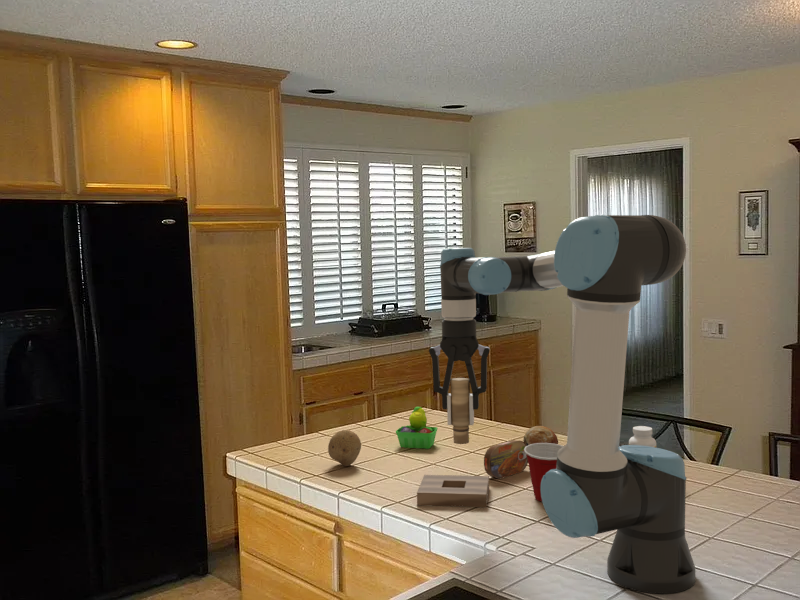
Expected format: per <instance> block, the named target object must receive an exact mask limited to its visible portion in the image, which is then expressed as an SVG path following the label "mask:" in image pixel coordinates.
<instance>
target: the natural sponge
mask: <svg viewBox="0 0 800 600" xmlns="http://www.w3.org/2000/svg"><path fill="white" fill-rule="evenodd" d="M328 442H329V443H328V446H327V451H328V455H329V457H330V458H331V459H332V460H334V461H335V462H338V463H339V464H340V465H341V466H343V467H348V466H351V465H352V464H353V463H354V462H355V461H356V460H357V458H358V456H359V455H360V452H361V449H362V441H361V438H360V437H359V435H358V434H357V433H355V431H352V430H350V429H349V430H348V429H343V430H340V431H338V432H336V433H335V434H334V435H332V436H331V438H330V439H329V441H328Z"/></svg>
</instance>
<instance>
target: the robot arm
mask: <svg viewBox="0 0 800 600" xmlns="http://www.w3.org/2000/svg"><path fill="white" fill-rule="evenodd" d="M686 253H687V244H686V240H685V237H684V234H683V233H682V231H681V230H680V229H679V227H678V226H677V225H676V224H675V223H673V222H672V221H670V220H669V219H667V218H665V217H663V216H659V215H654V214H640V215H638V214H637V215H636V214H635V215H633V214H632V215H628V214H627V215H626V214H625V215H624V214H623V215H622V214H621V215H620V214H619V215H617V214H616V215H615V214H612V215H610V214H607V215H606V214H595V215H589V216H581V217H578V218H576V219H574V220H573V221H570V223H569V224H568V225H567V227H565V228H564V229H563V230H562V232H561V234H560V236H559V237H558V239H557V242H556V245H555V247H554V250H552V251H547V252H542V253H537V254H532V255H520V256H515V255H514V256H513V255H511V256H483V257H476V253H475V249H474V248H472V247H457V248H456V247H454V248H453V247H452V248H449V247H448V248H444V249H442V250H441V251H440V264H439V268H440V271H439V272H440V294H441V299H440V301H441V302H440V303H441V307H440V308H441V317H442V318H444V319H442V321H441V341H440V343H439V344H438V345H436V346H431V347H430V348H429V350H428V353H429V355H430V357H431V367H432V380H433V381H432V383H433V384H432V385H433V392H434V393H439V394H440V395H441V400H442V401H441V405H442V409H443V410H447V414H446V415H447V416H446V417H447V425H448V426H452V425H451V392H450V393H449V389H450V386H451V379H452V375H453V374H452V373H453V369H454V365H455V364H454V363H455V362H458V361H460V362H464V364H465V367H466V372H467V375H468V379H469V380H470V388H471V389H470V390H471V393H470V395H469V410H470V425H469V426H474V424H475V410H478V409H479V407H480V404H479V403H480V402H479V399H480V398H479V395H480V394H484V393H486V392H487V388H488V387H487V386H488V385H487V383H488V356H489V353H490V351H491V347H490V346H484V345H482V344H479V341H478V339H477V320H476V319H475V317H476V316H477V299H476V298H477V296H476V294H480V295H484V296H490V295H492V296H494V295H499V294H503V293H504V294H505V293H517V292H532V291H533V292H535V291H539V292H543V291H549V290H554V289H556V288H560V287H561V288H562V287H565V288H566V289H567V290H566V291H567V292H566V297H567V298H568V300H569V301H570V302H571V303H572V304H573V305H574V307H575V314H574V328H573V330H574V331H573V345H572V357H571V358H572V362H571V363H572V364H571V373H570V374H571V375H570V377H571V378H570V390H569V391H570V392H569V403H568V405H569V406H568V408H569V409H568V421H567V423H568V424H567V437H566V443H565V445H562V446H563V447H562V448H561V449H559V451H558V452H557V465H556V469H551V470H549V471H548V472H547V473H546V474H545V475H544V476H543V478H542V481H541V498H542V502H541V503H542V504H543V508H544V510H545V513H546V514H547V517H548V519H549V520H550V522H551V524H552V525H553V526H554V528H555V529H556V530H558V531H559V532H560V533H561V534H563V535H564V536H566V537H569V538H573V539H578V538H585V537H589V538H591V537H595V536H596V535H599V534H603V533H608V532H613V531H616V533H615V536H614V540H613V541H612V545H611V547H610V550H609V554H608V556H607V563H606V565H607V567H606V571H607V575H608V577H609V578H610V579H611V580H612V581H613V582H615V583H616V584H618V585H620V586H621V587H622V586H623V587H624V588H627V589H631V590H634V591H638V592H643V593H648V594H649V593H650V594H651V593H652V594H674V593H675V594H676V593H680V592H683V591H686V590H689V589H690V588H692V587H693V586H694V585H695V583H696V566H695V563H694V560H693V557H692V556H693V555H692V554H691V553H692V552H691V551H690V547H689V544H688V541H687V539H686V493H687V492H686V491H687V490H686V488H687V487H686V483H687V476H686V470H685V469H686V467H685V466H686V465H685V460H684V458H682V457H681V455H679V454H678V453H677V452H674V451H671V450H669V449H668V450H667V449H664V448H659V447H656V448H655V447H649V446H641V445H629V444H623V445H620V440H621V439H620V438H621V428H622V424H621V423H622V412H623V401H624V399H623V398H624V389H625V387H624V386H625V377H626V375H625V374H626V373H625V372H626V361H627V348H628V337H629V336H628V335H629V334H628V333H629V323H630V311H631V310H632V308H634V307H635V306H637V305H638V304H639V303H640V302H641V295H642V294H641V292H642V286H650V285H657V284H660V283H663V282H665V281H668V280H669V279H671V278H672V277H674V276H675V275H676V274H677V273H678V272H679V271H680V269H682V266H683V264H684V262H685V259H686ZM441 350H442V352H443V353H444V354H445V356H446V357H447V363H446V369H445V375H444V380H443V385H442V386H441V377H440V375H441V374H440V359H439V356H440V355H441ZM477 350H478V354H479V356H480V357H481V358H480V386H478V381H477V377H476V374H475V369H474V365H473V361H472V357H473V356H474V354H475V353H476V351H477Z"/></svg>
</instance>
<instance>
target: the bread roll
mask: <svg viewBox="0 0 800 600" xmlns="http://www.w3.org/2000/svg"><path fill="white" fill-rule="evenodd" d="M522 441H523V442H524V443H525V444H526V445H527V446H528V445H530V444H535V443H552V444H558V445H559V439H558V436H557V435H556V433H555V432H554V430H552V429H551V428H549V427H547V426H543V425H536V426H532V427H530V428H529V429H527V431H526V432H525V434H524V436H523V440H522Z"/></svg>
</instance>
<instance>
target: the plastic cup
mask: <svg viewBox="0 0 800 600" xmlns="http://www.w3.org/2000/svg"><path fill="white" fill-rule="evenodd" d="M563 446H564V445H561V444H559V443H558V444H552V443H535V444H530V445H528V446H526V447H525V448H524V452H525V453H526V456H527V460H528V464H527V465H528V469H529V474H530V479H531V485H532V490H533V495H534V498H535V500H536V501H538V502H541V503H543V502H542V498H541V481H542V478H543V476H544V475H545V474H546V473H547V472H548V471H549V470H551V469H556V465H557V452H558V451H559V449H561V448H562V447H563Z"/></svg>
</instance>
